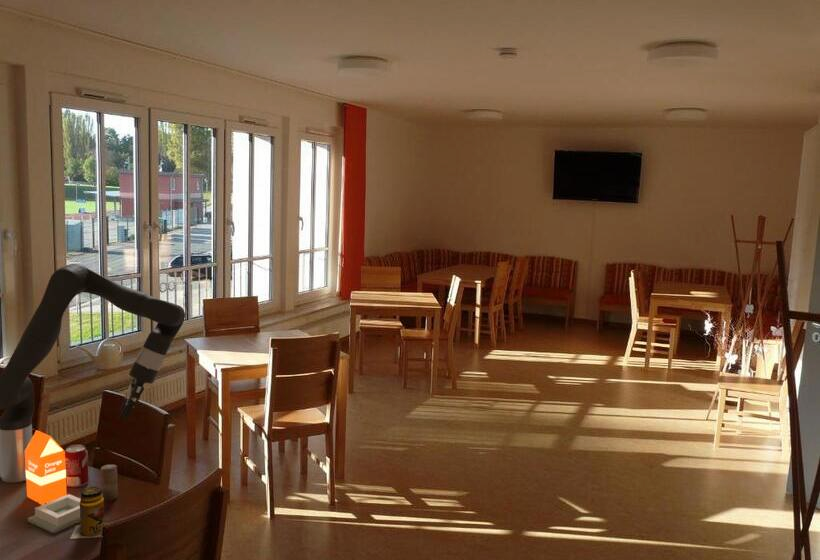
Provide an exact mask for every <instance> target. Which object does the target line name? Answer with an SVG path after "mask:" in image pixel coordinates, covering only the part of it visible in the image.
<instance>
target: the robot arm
mask: <svg viewBox="0 0 820 560" xmlns="http://www.w3.org/2000/svg"><path fill="white" fill-rule="evenodd" d="M81 293H86V294H90V295H93V296H95V295H96V296H98V297H100V298H103V299H104V300H106V301H108V302H109V303H111V304H112V305H113V306H115V307H117V308H118V309H120V310H122V311H125V312H127V313H130V314H132V315H135V316H138V317H141V318H146V319H148V320H150V321H153V322H156V325H155V328H154V329H153V330H151V331H150V332H149V333H148V336H147V338H146V339H145V342H144V344H143V346H142V348H140V351H139V352H138V354H137V356H136V359H135V361H134V362H133V364H132V366H131V368H130V371H129V372H128V374H129V376H130V377H132V381H131V382H130V383H129V386H128V388H127V389H126V392H125V396H124V400H123V402H122V404H121V407H120V408H119V411H120V412H121V414H120V417H121V418H122V419H125V420H128V419H129V417H130V416H131V414H132V411H133V409H134V408H135V407H137V404H138V402H139V401H140V400H141V396H142V394H143V392H144V391H145V387H144V385H145V384H150V385H151V384H153V383H155V380H156V378H157V376H158V374H159V372H160V369H161V368H162V365H163V363H164V359H165V357H166V355H167V353H168V351H169V349H170V346H171V345H172V342H173V340H174V338H175V337H176V336H177V334H178V333H179V331H180V329H182V328H181V327H182V325H183V324H184V322H185V318H186V311H185V309H184V308H183V307H182V306H181V305H179V304H176V303H173V302H170V301H166V300H163V299H160V298H157V297H154V296H152V295H150V294H148V293H144V292H142V291H139V290H136V289H133V288H130V287H127V286H125V285H123V284H121V283H118V282H116V281H113V280H111V279H109V278H107V277H105V276H103V275H101V274H98V273H97V272H95V271H94V270H92V269H90V268H88V267H86V266H84V265H82V264H80V263H79V264H78V263H70V264H67V265H65V266H62V267H60V268H58V269H56V270H55V271H54V272H53V273H52V274H51V276H50V278H49V281H48V283H47V285H46V288H45V291H44V294H43V296H42V299H41V302H40V303H39V305H38V306H37V308H36V310H35V312H34V313H33V315H32V317H31V319H30V321H28V324H27V326H26V327H25V329H24V331H23V332H22V335H21V337H20V339H19V342H18V344H17V346H16V347H15V348H14V350H13V352H12V354H11V356H10V358H9V361H8V363H6V365H5V367H4V369H3V370H2V372H0V409H2V410H3V409H4V412H3V413H2V414H1V416H0V477H1V481H2V482H4V483H19V482H24V481H26V466H25V452H24V451H25V449H26V448H27V446H28V444H29V442H30V440H31V439H32V437H33V423H32V422H33V421H32V420H33V417H34V413H35V390H34V384H33V381H32V380H31V378H30V377H29V376H30V375H31V373H32V372H33V371H34V370H35V369H36V368H37V367H38V366H39V365H40V364H41V363H42V362H43V361H44V360H45V358H47V356H48V355H49V354H50V353H51V352H52V349H53V348H54V346H55V344H56V342H57V340H58V338H59V335H60V334H61V330H62V321H63V317H64V316H63V315H64V313H65V312H66V310H67V308H68V306H69V305H70V303H72V301H73V300H74V298H75V297H76V296H78V295H80V294H81Z"/></svg>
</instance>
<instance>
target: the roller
mask: <svg viewBox="0 0 820 560" xmlns="http://www.w3.org/2000/svg"><path fill="white" fill-rule="evenodd" d="M100 483H101V485H100V486H101V487H100V488H101V490H102V497H103V499H104V500H105V501H106V502H108V501H107V500H111V501H115V500H116V499H118V497H119V490H118V489H119V488H118V485H119V484H118V465H116V464H105V465H103V466H101V468H100ZM105 501H104V502H105Z"/></svg>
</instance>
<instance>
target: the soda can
mask: <svg viewBox="0 0 820 560" xmlns="http://www.w3.org/2000/svg"><path fill="white" fill-rule="evenodd" d="M88 456H89V455H88V450H87V449H86V446H85V445H83V444H73V445H70V446H67V447H66V448H65V469H66V487H68V488H72V489H76V488H77V487H78V488H81V486H82V487H84V486H85V485H87V484H88V483H89V482H90V481H89V480H90V479H89V477H90V475H89V457H88Z"/></svg>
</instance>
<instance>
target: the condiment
mask: <svg viewBox="0 0 820 560" xmlns="http://www.w3.org/2000/svg"><path fill="white" fill-rule="evenodd" d="M80 499H81V501H80V522H79V523H80V524H77V525H75V526H74V528H73V531H72V534H71V535H70V537H69V539H70V540H73V539H74V540H75V539H89V538H100V537H101V527H102V526H104V525H105V501H104V499H103V497H102V489H101V487H98V486H89V487H86V488H84V489H82V491H81V492H80ZM107 523H108V522H107ZM107 523H106V524H107ZM101 538H102V537H101Z"/></svg>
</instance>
